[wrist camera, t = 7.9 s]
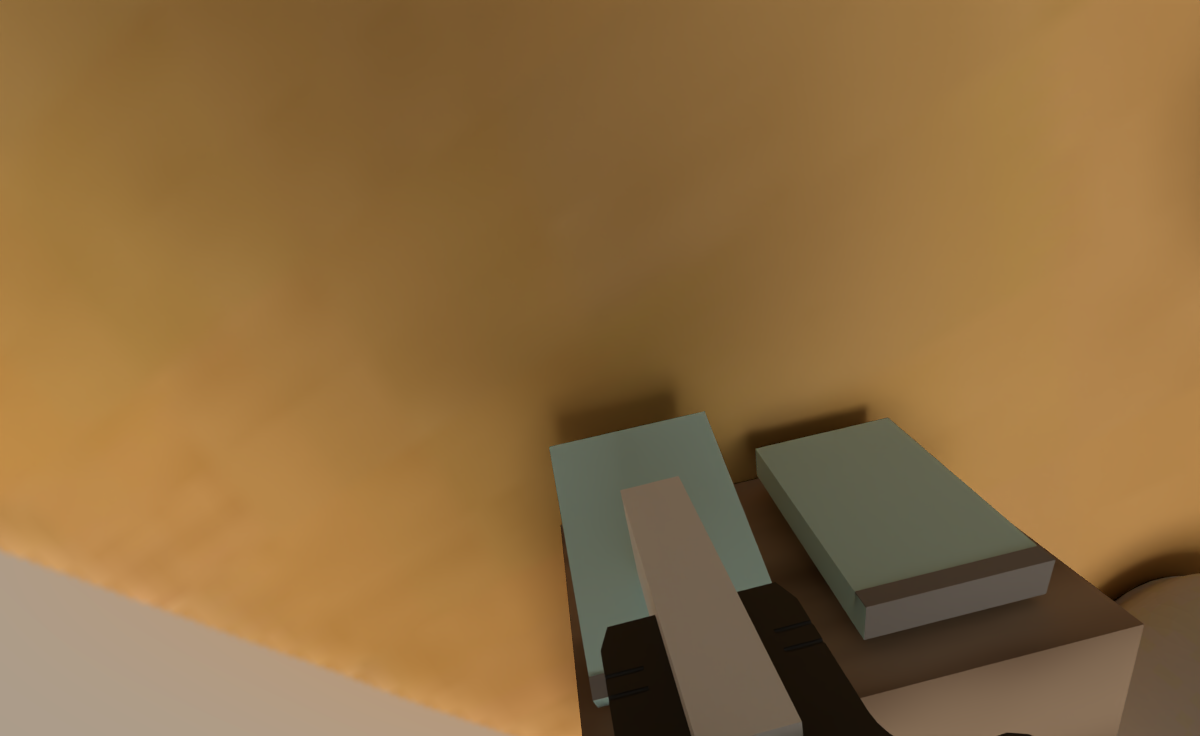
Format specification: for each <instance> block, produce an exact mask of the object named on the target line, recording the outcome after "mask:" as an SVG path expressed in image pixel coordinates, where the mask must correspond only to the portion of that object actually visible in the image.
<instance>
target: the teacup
mask: <svg viewBox="0 0 1200 736" xmlns="http://www.w3.org/2000/svg"><path fill="white" fill-rule="evenodd" d="M1115 602H1116V603H1117V604H1118V605H1119V606H1121V607H1122V608H1123V609H1125V610H1126V611H1127V612H1129V613H1130V614H1131V615H1133V616H1134V617H1135V618H1137V619H1138V620H1139V621H1141V622H1142V623H1143V624H1144V627H1143V632H1142V636H1141V640H1140V644H1139V648H1138V652H1137V656H1136V660H1135V664H1134V668H1133V672H1132V676H1131V680H1130V684H1129V688H1128V692H1127V696H1126V700H1125V704H1124V709H1123V713H1122V717H1121V721H1120V725H1119V729H1118V733H1117V736H1200V573H1198V574H1191V575H1186V576H1174V577H1166V578H1161V579H1157V580H1153V581H1150V582H1148V583H1145V584H1143V585H1140V586H1138V587H1136V588H1134V589H1132V590H1130V591H1129V592H1127V593H1125V594H1124V595H1123V596H1121V597H1120V598H1119V599H1117V600H1116V601H1115Z"/></svg>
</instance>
